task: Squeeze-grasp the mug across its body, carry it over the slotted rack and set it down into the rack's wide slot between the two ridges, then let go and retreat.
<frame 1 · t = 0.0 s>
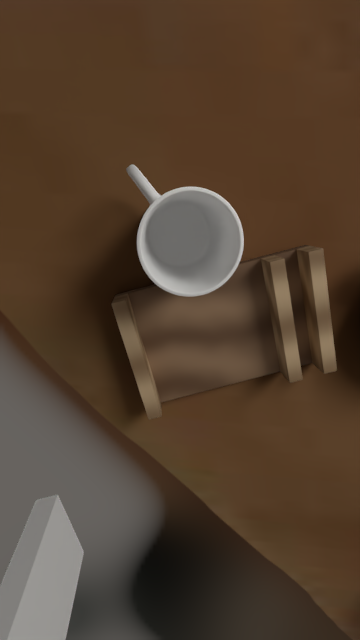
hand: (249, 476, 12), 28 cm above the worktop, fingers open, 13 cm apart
mug: (171, 222, 36), on the worktop
rack: (222, 326, 40), on the worktop
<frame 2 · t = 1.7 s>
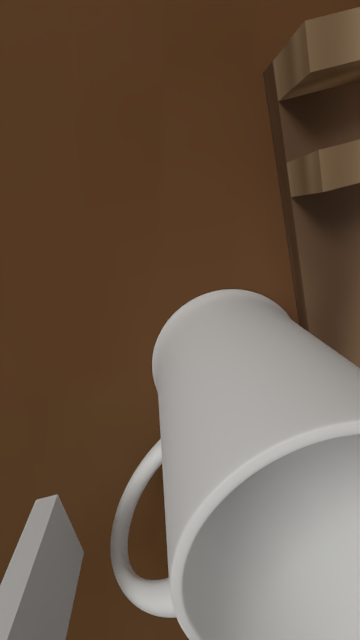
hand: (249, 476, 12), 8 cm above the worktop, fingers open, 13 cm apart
mug: (202, 375, 20), on the worktop
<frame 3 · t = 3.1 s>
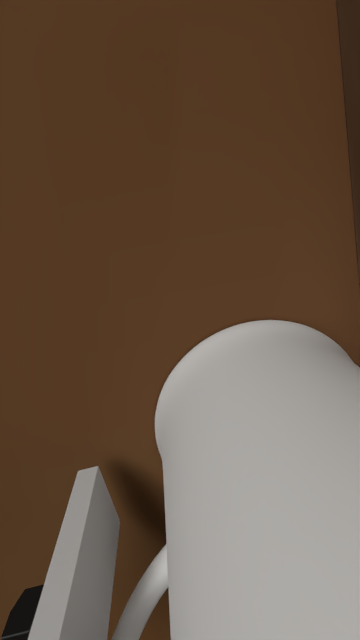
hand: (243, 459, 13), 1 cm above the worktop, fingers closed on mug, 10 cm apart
mug: (224, 434, 14), on the worktop, touching gripper
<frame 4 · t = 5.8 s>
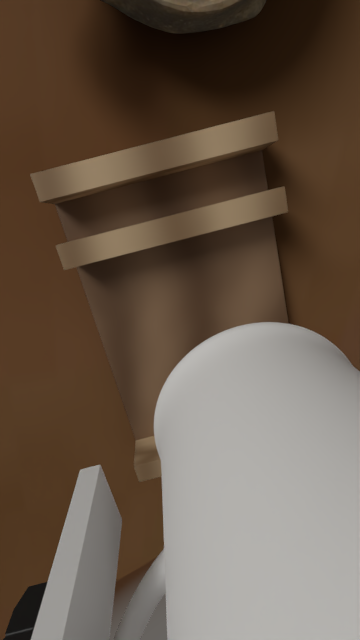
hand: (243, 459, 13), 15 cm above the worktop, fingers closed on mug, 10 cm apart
mug: (223, 436, 14), point 13 cm above the worktop, touching gripper
rack: (189, 308, 26), on the worktop
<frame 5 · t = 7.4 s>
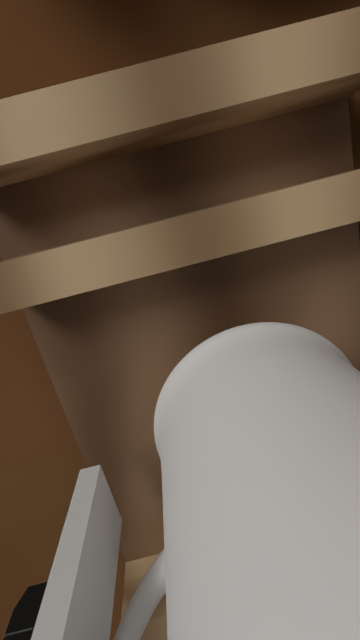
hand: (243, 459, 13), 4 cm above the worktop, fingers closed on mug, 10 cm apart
mug: (223, 436, 14), point 3 cm above the worktop, touching gripper
rack: (211, 362, 16), on the worktop
when the fingers open (3 cm above the worktop, at t = 8.6 s): mug stays where it is, resting on rack.
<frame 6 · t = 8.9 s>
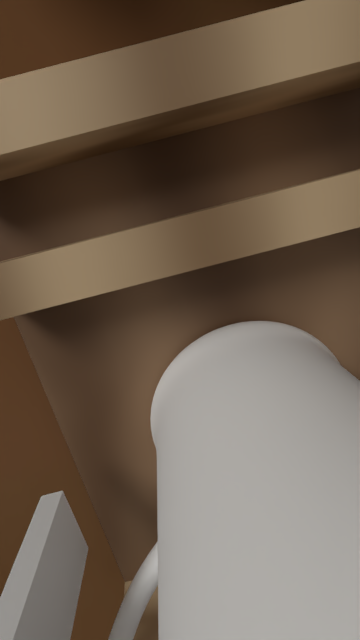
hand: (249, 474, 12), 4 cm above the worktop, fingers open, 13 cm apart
mug: (217, 430, 15), point 1 cm above the worktop, touching rack
rack: (216, 372, 15), on the worktop
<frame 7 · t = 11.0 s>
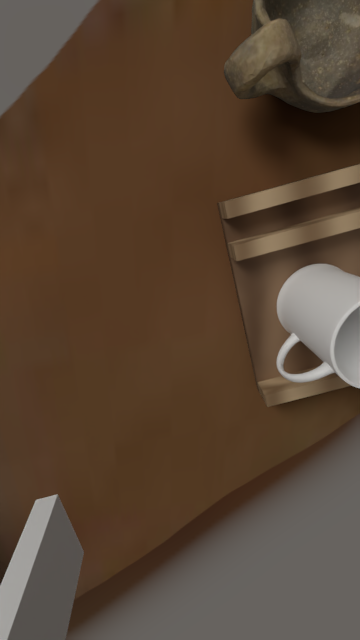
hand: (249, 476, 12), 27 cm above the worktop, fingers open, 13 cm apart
mug: (301, 310, 37), point 1 cm above the worktop, touching rack
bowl: (295, 51, 31), on the worktop
rack: (300, 287, 37), on the worktop
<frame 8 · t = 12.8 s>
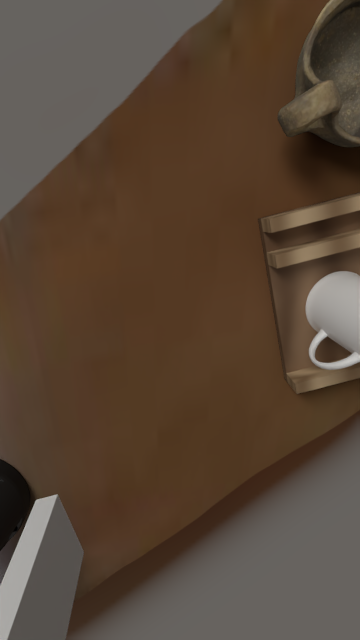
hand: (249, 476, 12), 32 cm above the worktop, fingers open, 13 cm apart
mug: (325, 311, 43), point 1 cm above the worktop, touching rack
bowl: (328, 94, 37), on the worktop
rack: (324, 291, 43), on the worktop
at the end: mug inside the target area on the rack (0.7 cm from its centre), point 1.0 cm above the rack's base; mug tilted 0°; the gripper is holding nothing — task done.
